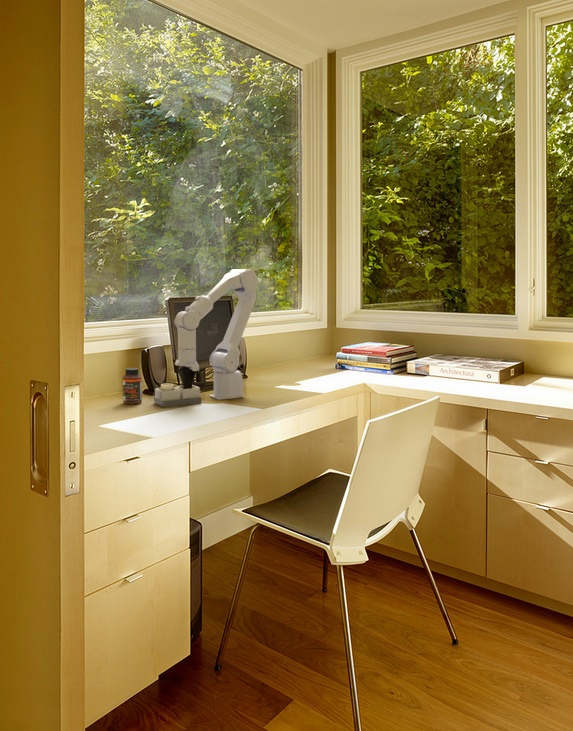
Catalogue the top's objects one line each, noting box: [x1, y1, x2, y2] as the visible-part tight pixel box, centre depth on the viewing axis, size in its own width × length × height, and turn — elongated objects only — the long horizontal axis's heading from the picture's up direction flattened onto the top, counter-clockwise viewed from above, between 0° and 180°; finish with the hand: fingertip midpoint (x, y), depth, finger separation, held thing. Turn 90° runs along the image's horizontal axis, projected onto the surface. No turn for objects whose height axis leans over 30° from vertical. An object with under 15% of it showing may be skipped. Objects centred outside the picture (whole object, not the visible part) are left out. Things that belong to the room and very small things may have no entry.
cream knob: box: [160, 382, 175, 391], centre depth 199 cm, size 4×4×2 cm
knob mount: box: [153, 384, 202, 408], centre depth 201 cm, size 13×8×5 cm, turn 122°
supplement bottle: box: [122, 367, 143, 406], centre depth 200 cm, size 6×6×11 cm
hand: (187, 390), depth 202 cm, fingers closed, pressing on orange knob
